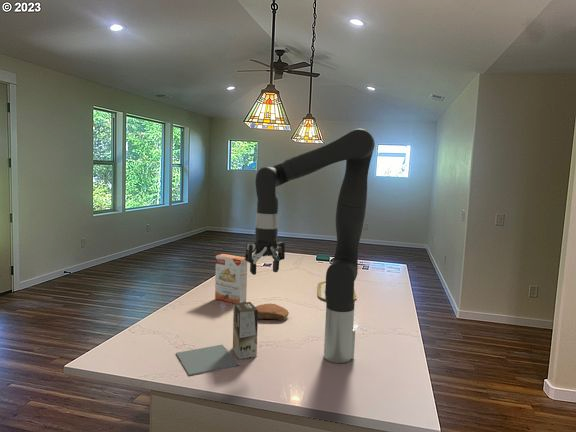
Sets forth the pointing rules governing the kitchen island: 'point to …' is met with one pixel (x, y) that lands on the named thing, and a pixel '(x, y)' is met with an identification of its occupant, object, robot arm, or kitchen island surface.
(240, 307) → the coffee box
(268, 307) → the ceramic shard
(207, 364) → the mat
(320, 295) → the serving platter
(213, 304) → the kitchen island surface
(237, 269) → the cracker box
